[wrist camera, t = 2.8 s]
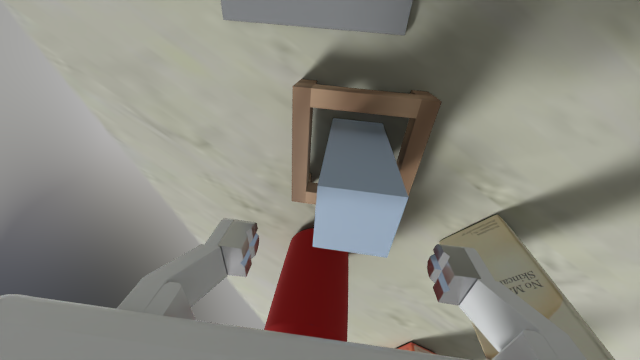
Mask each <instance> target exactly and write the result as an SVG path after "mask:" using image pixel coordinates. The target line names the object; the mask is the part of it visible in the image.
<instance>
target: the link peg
mask: <svg viewBox="0 0 640 360" xmlns="http://www.w3.org/2000/svg"><path fill="white" fill-rule="evenodd" d="M408 198H409V197H408V194H407V192H406V189H405V186H404V183H403V180H402V177H401V174H400V172H399V169H398V166H397V163H396V160H395V157H394V154H393V152H392V149H391V146H390V143H389V140H388V137H387V134H386V132H385V129H384V126H383V123H374V122H365V121H356V120H347V119H338V118H333V121H332V125H331V130H330V134H329V138H328V143H327V147H326V151H325V156H324V160H323V164H322V169H321V173H320V177H319V182H318V186H317V198H316V210H315V223H314V235H313V247H317V248H324V249H331V250H338V251H345V252H352V253H359V254H366V255H373V256H379V257H386V258H387V257H388V254H389V251H390V248H391V245H392V243H393V240H394V237H395V234H396V231H397V228H398V226H399V223H400V220H401V217H402V214H403V212H404V209H405V206H406V203H407V200H408Z"/></svg>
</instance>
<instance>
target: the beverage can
mask: <svg viewBox="0 0 640 360" xmlns="http://www.w3.org/2000/svg"><path fill="white" fill-rule="evenodd" d="M313 235H314V228H311V229H306V230H303V231H300V232H299V233H297V234H296V235H295V236H294V237H293V238H292V240H291V242H290V246H289V249H288V252H287V255H286V258H285V261H284V265H283V268H282V271H281V274H280V278H279V281H278V284H277V288H276V291H275V294H274V298H273V301H272V305H271V308H270V311H269V315H268V318H267V322H266V325H265V329H264V330H268V331H275V332H282V333H289V334H296V335H303V336H310V337H317V338H324V339H331V340H338V341H345V342H347V323H348V252H345V251H338V250H331V249H324V248H317V247H313Z"/></svg>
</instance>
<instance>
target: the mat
mask: <svg viewBox="0 0 640 360" xmlns="http://www.w3.org/2000/svg"><path fill="white" fill-rule="evenodd" d="M412 1H413V0H221V5H222V13H223V20H233V21H244V22H256V23H267V24H279V25H291V26H302V27H314V28H325V29H337V30H348V31H360V32H372V33H383V34H395V35H405V32H406V27H407V23H408V19H409V14H410V10H411V6H412Z"/></svg>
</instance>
